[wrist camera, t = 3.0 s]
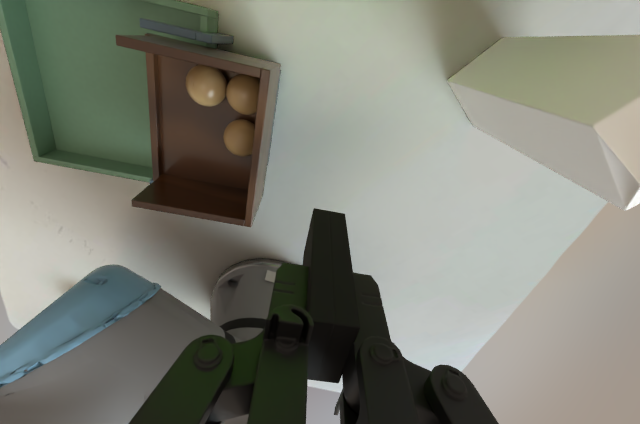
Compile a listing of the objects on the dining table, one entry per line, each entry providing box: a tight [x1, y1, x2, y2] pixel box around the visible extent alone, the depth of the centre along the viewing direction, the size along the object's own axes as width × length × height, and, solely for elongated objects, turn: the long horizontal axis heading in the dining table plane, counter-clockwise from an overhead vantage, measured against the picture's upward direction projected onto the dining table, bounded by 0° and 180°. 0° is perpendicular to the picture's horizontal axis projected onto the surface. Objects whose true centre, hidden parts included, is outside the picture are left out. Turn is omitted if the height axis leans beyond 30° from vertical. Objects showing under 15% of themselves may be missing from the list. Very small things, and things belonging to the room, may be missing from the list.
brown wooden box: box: [115, 33, 281, 227], centre depth 24 cm, size 12×10×6 cm
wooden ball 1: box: [186, 65, 227, 107], centre depth 23 cm, size 3×3×3 cm
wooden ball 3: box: [223, 119, 255, 157], centre depth 25 cm, size 3×3×3 cm
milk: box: [447, 35, 640, 211], centre depth 21 cm, size 6×6×22 cm
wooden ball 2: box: [226, 74, 260, 115], centre depth 24 cm, size 3×3×3 cm
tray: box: [0, 0, 218, 182], centre depth 30 cm, size 17×17×3 cm
